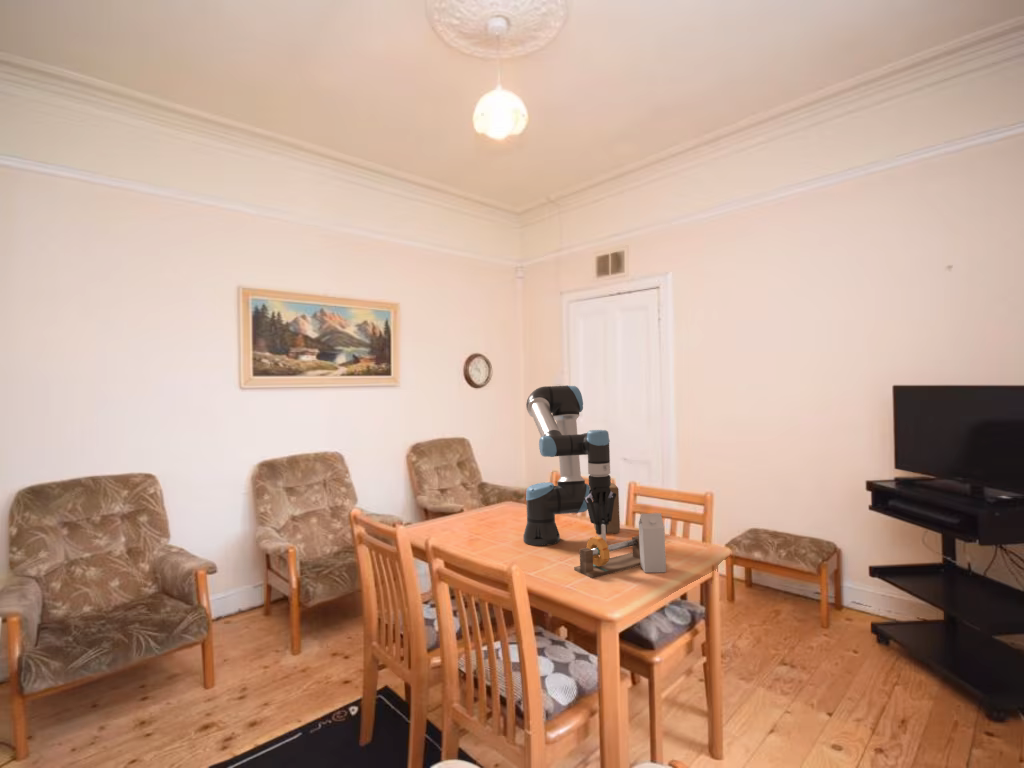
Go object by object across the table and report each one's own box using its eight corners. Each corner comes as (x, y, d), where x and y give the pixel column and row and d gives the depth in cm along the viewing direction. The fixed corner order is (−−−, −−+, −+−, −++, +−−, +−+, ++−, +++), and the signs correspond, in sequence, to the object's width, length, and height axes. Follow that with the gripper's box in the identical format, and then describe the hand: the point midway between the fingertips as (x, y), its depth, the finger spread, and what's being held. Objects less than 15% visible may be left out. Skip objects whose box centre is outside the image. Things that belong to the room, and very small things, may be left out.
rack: (574, 570, 177) (573, 546, 177) (632, 555, 191) (631, 533, 191) (592, 578, 168) (592, 554, 168) (652, 562, 182) (651, 539, 182)
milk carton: (640, 566, 179) (638, 511, 179) (660, 565, 179) (658, 510, 179) (644, 573, 172) (642, 516, 172) (666, 572, 171) (664, 515, 172)
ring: (587, 561, 179) (586, 535, 180) (592, 560, 181) (591, 534, 181) (604, 569, 171) (603, 541, 172) (610, 567, 173) (609, 540, 173)
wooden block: (620, 533, 220) (618, 486, 220) (597, 534, 220) (595, 487, 220) (616, 527, 230) (614, 482, 230) (593, 528, 230) (592, 483, 230)
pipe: (583, 556, 175) (583, 549, 175) (635, 544, 187) (635, 537, 187) (588, 558, 172) (588, 551, 172) (641, 545, 184) (640, 538, 185)
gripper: (591, 478, 171) (594, 549, 171) (621, 474, 178) (623, 542, 177) (577, 475, 177) (580, 544, 177) (606, 471, 184) (609, 537, 184)
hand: (601, 543), depth 177 cm, fingers closed
